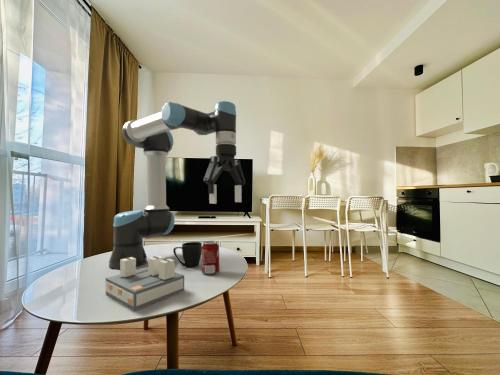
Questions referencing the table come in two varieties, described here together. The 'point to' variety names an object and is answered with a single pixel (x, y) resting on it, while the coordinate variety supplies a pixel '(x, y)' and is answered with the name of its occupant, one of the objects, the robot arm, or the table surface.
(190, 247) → the mug
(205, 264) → the soda can
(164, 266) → the slider near
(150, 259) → the slider mid
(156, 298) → the console
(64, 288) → the table surface
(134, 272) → the block
